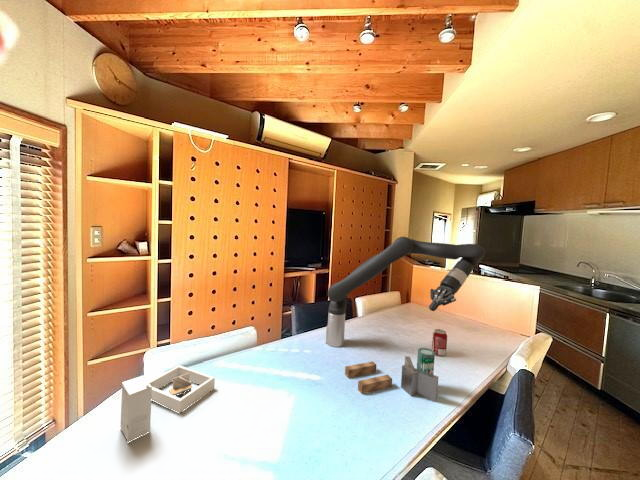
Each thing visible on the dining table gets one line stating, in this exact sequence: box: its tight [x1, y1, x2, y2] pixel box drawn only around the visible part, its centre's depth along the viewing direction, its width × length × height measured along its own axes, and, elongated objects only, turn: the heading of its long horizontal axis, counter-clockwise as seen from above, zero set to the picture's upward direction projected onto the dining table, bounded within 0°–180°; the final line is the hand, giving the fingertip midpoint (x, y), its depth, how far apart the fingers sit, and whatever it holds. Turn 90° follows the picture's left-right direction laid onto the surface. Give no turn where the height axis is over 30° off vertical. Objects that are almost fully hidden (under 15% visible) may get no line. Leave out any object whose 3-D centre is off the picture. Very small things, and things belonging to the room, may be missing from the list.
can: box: [416, 347, 436, 375], centre depth 106 cm, size 6×6×15 cm
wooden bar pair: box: [344, 360, 393, 395], centre depth 109 cm, size 14×14×4 cm
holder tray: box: [148, 364, 216, 413], centre depth 97 cm, size 19×15×4 cm
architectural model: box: [169, 373, 193, 396], centre depth 95 cm, size 3×7×7 cm, turn 135°
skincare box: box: [119, 375, 152, 443], centre depth 78 cm, size 8×6×15 cm
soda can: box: [431, 328, 448, 357], centre depth 135 cm, size 7×7×12 cm
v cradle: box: [400, 355, 439, 403], centre depth 104 cm, size 8×18×9 cm, turn 22°
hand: (431, 309), depth 112 cm, fingers closed
